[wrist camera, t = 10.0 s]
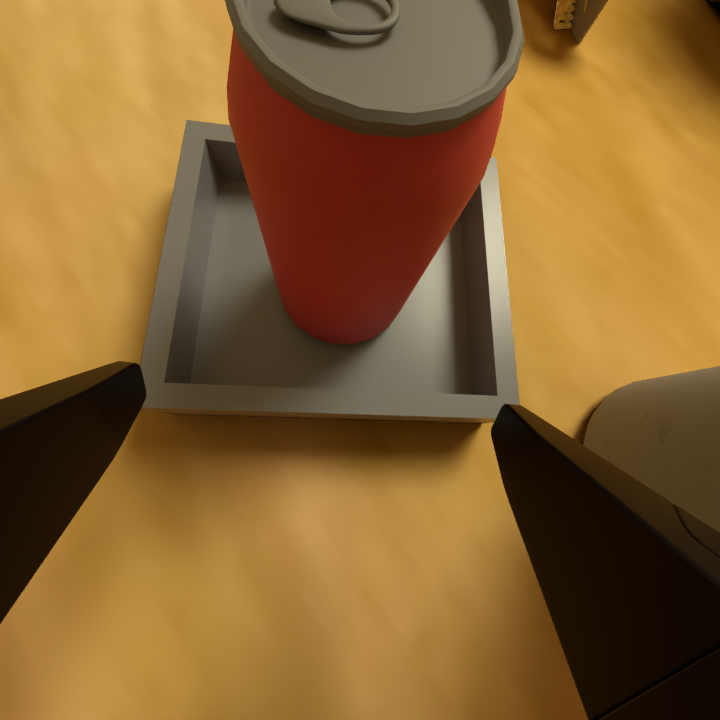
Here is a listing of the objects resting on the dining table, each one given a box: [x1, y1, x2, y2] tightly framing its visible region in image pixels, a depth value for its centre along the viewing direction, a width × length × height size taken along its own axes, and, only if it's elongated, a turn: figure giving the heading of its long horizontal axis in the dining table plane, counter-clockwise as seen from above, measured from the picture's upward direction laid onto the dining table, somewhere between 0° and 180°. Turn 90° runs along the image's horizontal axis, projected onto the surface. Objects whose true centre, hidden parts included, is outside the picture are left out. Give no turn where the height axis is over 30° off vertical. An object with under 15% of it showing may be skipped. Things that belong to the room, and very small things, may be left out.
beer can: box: [225, 0, 524, 344], centre depth 12 cm, size 7×7×12 cm
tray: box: [140, 120, 520, 423], centre depth 17 cm, size 14×16×4 cm
